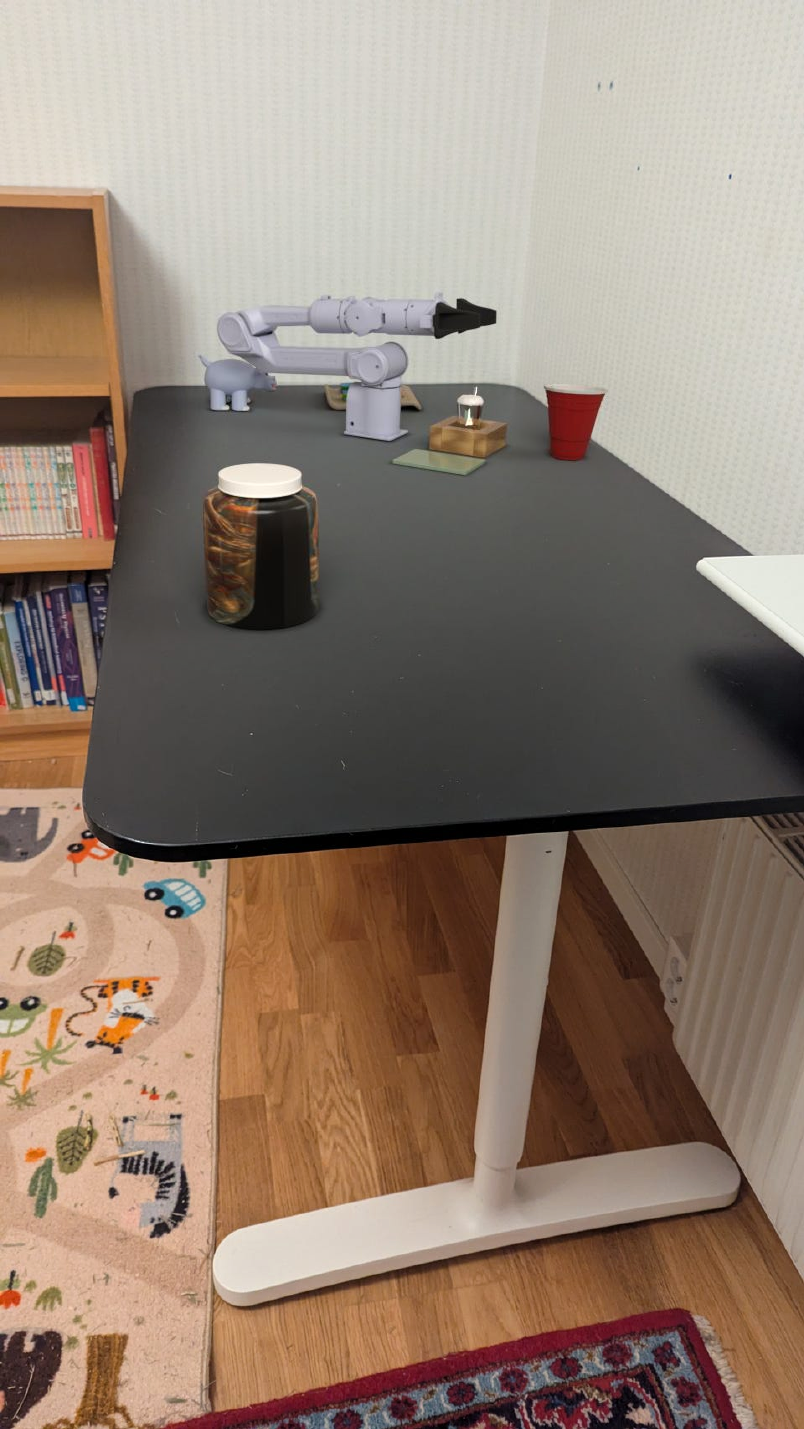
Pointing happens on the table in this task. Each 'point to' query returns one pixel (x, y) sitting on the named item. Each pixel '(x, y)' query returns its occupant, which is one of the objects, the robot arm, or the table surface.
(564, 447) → the plastic cup
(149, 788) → the table surface
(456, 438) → the holder
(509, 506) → the table surface
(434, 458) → the tile
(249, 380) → the hippopotamus toy
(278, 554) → the jar
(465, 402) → the milkshake
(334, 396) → the puzzle board
